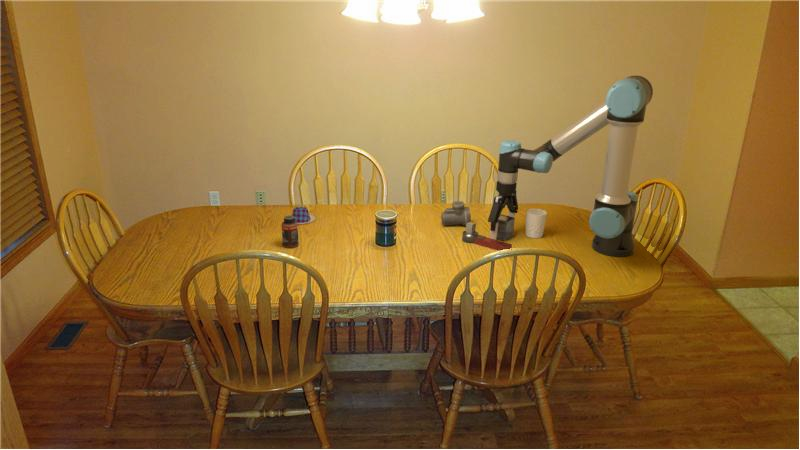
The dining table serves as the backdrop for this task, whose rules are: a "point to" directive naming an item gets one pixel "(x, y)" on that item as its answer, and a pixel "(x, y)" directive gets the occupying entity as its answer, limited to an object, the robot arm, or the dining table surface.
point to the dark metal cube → (505, 227)
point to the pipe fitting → (456, 214)
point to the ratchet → (482, 239)
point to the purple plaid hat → (302, 215)
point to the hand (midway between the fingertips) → (501, 232)
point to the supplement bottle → (290, 232)
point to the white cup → (535, 222)
